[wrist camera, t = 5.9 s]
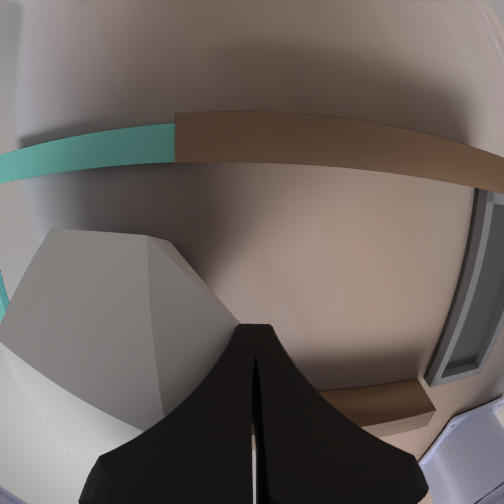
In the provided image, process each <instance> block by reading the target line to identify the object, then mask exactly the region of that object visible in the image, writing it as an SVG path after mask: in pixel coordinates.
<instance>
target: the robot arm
mask: <svg viewBox="0 0 504 504" xmlns="http://www.w3.org/2000/svg"><path fill="white" fill-rule="evenodd" d="M503 403H504V396H503V397H501V398H499V399H496V400H494V401H492V402H490V403H488V404H485V405H483V406H481V407H478V408H476V409H473V410H471V411H468V412H466V413H463V414H460V415H458V416H455V417H453V418H452V419H451V420H450V422H449V423H448V425H447V426H446V428H445V429H444V430H443V432H442V433H441V435H440V436H439V437H438V439H437V440H436V441H435V443H434V444H433V445H432V446H431V448H430V449H429V450H428V452H427V453H426V454H425V455H424V457H423V458H422V459H421V460H420V461H419V463H418V462H417V460H416V458H415V456H414V455H412V454H410V453H407V452H405V451H403V450H401V449H399V448H397V447H394V446H392V445H390V444H388V443H386V442H384V441H382V440H380V439H379V438H377V437H375V436H374V435H372V434H370V433H369V432H367V431H365V430H364V429H362V428H361V427H359V426H358V425H357V424H355V423H354V422H353V421H351V420H350V419H348V418H347V417H346V416H344V415H343V414H342V413H340V412H339V411H338V410H337V409H336V408H335V407H333V406H332V405H331V404H330V403H329V402H328V401H327V400H326V399H325V398H324V397H323V396H322V395H321V394H320V393H319V392H318V391H317V390H316V389H315V388H314V387H313V386H312V385H311V384H310V383H309V382H308V380H307V379H306V378H305V377H304V375H303V374H302V373H301V372H300V371H299V369H298V368H297V367H296V365H295V364H294V362H293V361H292V360H291V358H290V357H289V355H288V354H287V352H286V351H285V349H284V348H283V346H282V344H281V343H280V341H279V339H278V337H277V335H276V333H275V331H274V329H273V327H272V326H271V325H270V324H238V325H237V326H236V328H235V331H234V333H233V336H232V338H231V340H230V341H229V343H228V345H227V347H226V348H225V350H224V352H223V353H222V355H221V356H220V358H219V360H218V361H217V362H216V364H215V365H214V367H213V368H212V369H211V370H210V372H209V373H208V374H207V376H206V377H205V378H204V379H203V381H202V382H201V383H200V384H199V385H198V386H197V387H196V389H195V390H194V391H193V392H192V393H191V394H190V395H189V396H188V397H187V398H186V399H185V400H184V401H183V402H182V403H180V404H179V405H178V406H177V407H176V408H175V409H174V410H173V411H172V412H170V413H169V414H168V415H167V416H165V417H164V418H163V419H162V420H160V421H159V422H157V423H156V424H155V425H153V426H152V427H150V428H149V429H147V430H146V431H144V432H143V433H141V434H140V435H138V436H137V437H135V438H134V439H132V440H130V441H128V442H126V443H124V444H123V445H121V446H119V447H117V448H115V449H113V450H111V451H109V452H107V453H105V454H103V455H101V456H99V458H98V460H97V461H96V463H95V465H94V466H93V468H92V470H91V472H90V473H89V475H88V478H87V480H86V483H85V485H84V488H83V490H82V493H81V496H80V499H79V501H78V502H79V504H253V476H252V424H253V428H254V437H255V447H256V504H417V503H418V502H420V501H421V500H422V499H423V498H424V497H425V496H426V494H427V492H428V490H429V492H430V495H431V498H432V500H433V503H434V504H504V428H503V427H502V425H501V424H500V422H499V421H498V419H497V418H496V416H495V414H496V413H497V411H498V410H499V409H500V407H501V406H502V404H503ZM0 504H28V503H26V502H24V501H23V500H21V499H20V498H18V497H16V496H15V495H13V494H12V493H10V492H9V491H7V490H6V489H4V488H3V487H2V486H0Z"/></svg>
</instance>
